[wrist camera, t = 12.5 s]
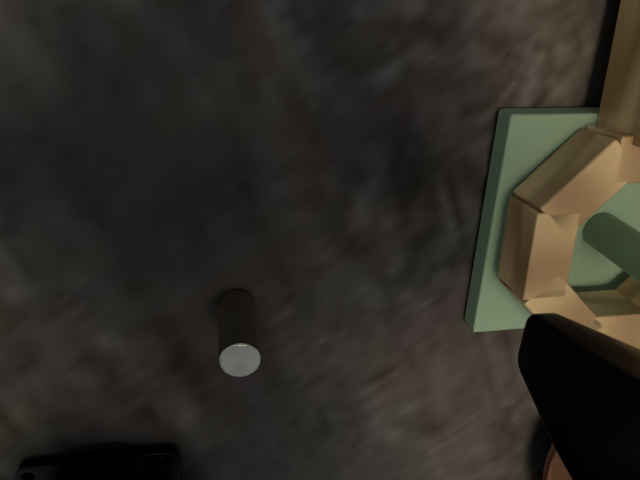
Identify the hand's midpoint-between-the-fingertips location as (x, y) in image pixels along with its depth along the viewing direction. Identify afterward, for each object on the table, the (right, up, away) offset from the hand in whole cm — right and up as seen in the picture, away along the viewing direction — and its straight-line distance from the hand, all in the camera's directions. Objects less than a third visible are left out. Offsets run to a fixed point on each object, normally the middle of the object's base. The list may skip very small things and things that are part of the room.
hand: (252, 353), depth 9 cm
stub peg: (-2, -1, +13) cm, 13 cm away
